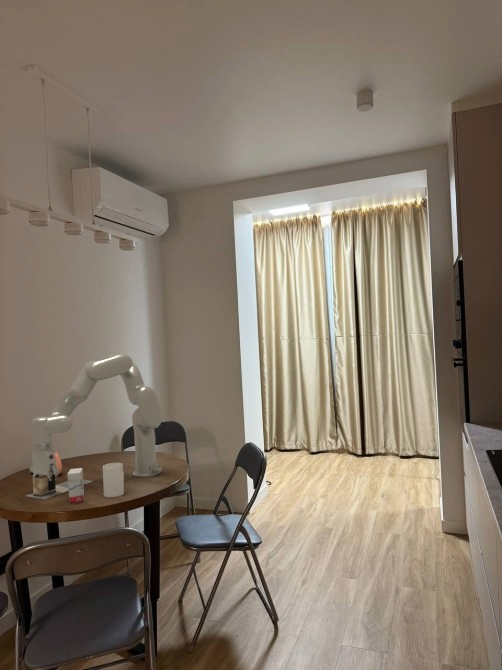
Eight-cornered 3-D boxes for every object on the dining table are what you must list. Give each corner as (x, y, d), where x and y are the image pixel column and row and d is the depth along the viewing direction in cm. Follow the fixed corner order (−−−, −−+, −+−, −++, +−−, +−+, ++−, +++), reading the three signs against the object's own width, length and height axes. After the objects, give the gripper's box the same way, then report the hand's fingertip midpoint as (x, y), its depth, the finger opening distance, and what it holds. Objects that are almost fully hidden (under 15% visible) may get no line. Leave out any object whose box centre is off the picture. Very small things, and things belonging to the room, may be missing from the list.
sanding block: (55, 491, 200) (55, 475, 200) (41, 497, 194) (41, 479, 194) (47, 490, 202) (47, 474, 202) (33, 495, 196) (32, 478, 196)
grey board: (93, 483, 214) (93, 480, 214) (44, 501, 191) (44, 499, 191) (74, 480, 219) (74, 478, 219) (24, 498, 196) (24, 495, 196)
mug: (119, 487, 205) (118, 459, 205) (126, 494, 194) (125, 465, 194) (100, 491, 201) (98, 462, 201) (106, 498, 190) (104, 468, 190)
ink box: (82, 502, 187) (80, 472, 187) (68, 504, 186) (67, 474, 186) (84, 496, 195) (83, 467, 196) (71, 497, 194) (70, 468, 194)
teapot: (36, 473, 236) (35, 449, 236) (62, 470, 240) (61, 446, 240) (34, 484, 217) (33, 457, 217) (62, 480, 222) (61, 454, 222)
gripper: (64, 446, 198) (66, 488, 197) (36, 443, 206) (38, 484, 205) (49, 450, 191) (51, 493, 191) (21, 447, 199) (22, 489, 199)
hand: (44, 488), depth 198 cm, fingers open, 8 cm apart
